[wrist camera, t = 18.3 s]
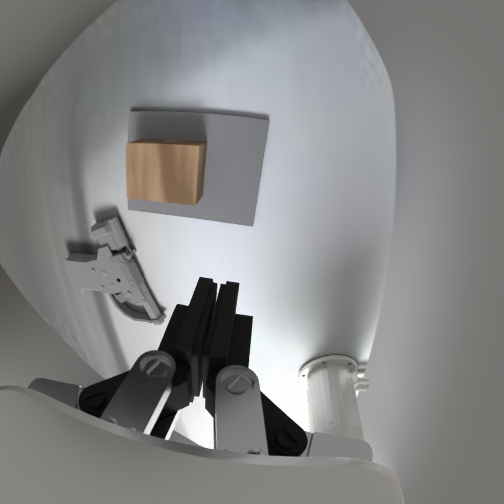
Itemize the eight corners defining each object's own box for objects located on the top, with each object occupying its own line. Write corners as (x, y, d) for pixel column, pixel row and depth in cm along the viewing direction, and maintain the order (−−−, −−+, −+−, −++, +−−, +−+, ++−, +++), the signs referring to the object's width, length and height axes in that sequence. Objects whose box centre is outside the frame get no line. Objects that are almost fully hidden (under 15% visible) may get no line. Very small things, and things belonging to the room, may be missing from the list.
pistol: (49, 245, 38) (112, 220, 35) (58, 237, 41) (122, 212, 38) (100, 331, 47) (166, 326, 44) (106, 321, 50) (171, 314, 47)
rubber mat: (269, 120, 30) (269, 120, 30) (253, 224, 37) (252, 226, 36) (131, 111, 30) (129, 111, 29) (130, 208, 37) (128, 209, 36)
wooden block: (199, 146, 28) (126, 143, 28) (195, 205, 31) (127, 198, 31) (207, 141, 31) (140, 138, 31) (203, 195, 35) (140, 189, 35)
